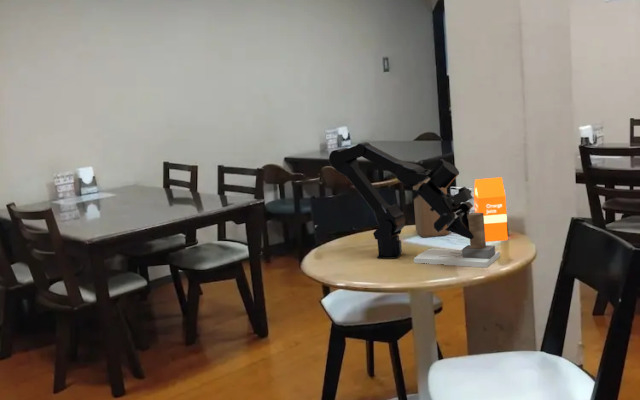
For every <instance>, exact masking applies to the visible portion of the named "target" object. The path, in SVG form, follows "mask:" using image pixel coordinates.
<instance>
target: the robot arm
mask: <svg viewBox="0 0 640 400" xmlns="http://www.w3.org/2000/svg"><path fill="white" fill-rule="evenodd" d="M361 157H362V158H364V159H365V160H368V161H369V162H370V163H373V164H375V165H376V166H379V167H380V168H382V169H384V170H386V171H388V172H389V173H391V174H392V175H394V176H395V178H396V180H397V181H398V182H400V183H401V184H403V186H405V187H407V188H413V186H416V185H418V184H421V183H422V184H421V186H420V187H419V188H418V189H414V190H413V189H412V199H413V200H414V199H416V198H418V197H419V196H420V197H421V198H422V199H423V200H424V201H425V202H426V203H427V204H428V205H430V207H431V209H430V210H431V211H432V212H433V211H435V212H436V213H437V214H438V215H439V216H440V217H439V218H438V219H437V221H436V222H435V223H434V228H435V230H436V231H437V232H438V233H439V232H440V231H442V230H443V227H444V226H445V225H446V224H447V226H448V227H447V228H446V229H445V230H446V231H449V233H453V234H455V235H458V236H461V237H464V238H466V239H469V240H470V239H473V237H474V236H473V235H472V233H471V232H470V231H469V220H468V214H470V213H471V210H472V209H473V207H474V204H472V203H471V202H470V200H472V199H473V196H472V190H470V189H469V187H468V188H467V187H466V186H463V187H460V188H458V191H457V193H455V194H454V195H452V194H451V193H448V192H447V194H445V193H444V192H443V191H442V190H441V189H440V188H442V187H443V188H447V189H448V187H449V186H450V185H451V184H452V183H453V181H454V180H455V179H456V178H457V177H458V176H459V175H460V171H459V169H458V168H457V167H456V166H455V165H454V164H452V163H451V162H448V161H446V160H445V159H443V158H442V159H439V160H438V161H437V162H436V164H435V166H434V167H433V168H432V169H425V167H423V166H421V165H420V164H416V163H412V162H409V161H404V160H400V159H399V158H397V157H395V156H393V155H391V154H389V153H387V152H385V151H383V150H381V149H379V148H378V147H376V146H374V145H372V144H371V143H370V142H367V141H364V142H361V143H357V144H356V145H354V146H351V147H343V148H339V149H335V150H332V151H331V152H330V153H329V156H328V163H329V165H330V166H331V167H332V168H333V169H334V170H335V171H336V172H337V173H339V174H341V175H343V176H344V177H346V178H347V179H348V181H350V183H351V184H352V186H353V187H354V188H355V189H356V191H357V192H358V193H359V195H360V196H361V197H362V198H363V199H364V201H365V202H366V204H367V205H368V206H369V207H370V208H371V210H372V211H373V213H374V216H375V220H376V223H377V225H378V227H376V229H375V230H374V232H373V233H372V234H373V237H374V239H375V240H377V241H376V242H377V250H378V254H377V256H376V258H377V259H398V258H399V256H401V255H402V253H403V249H402V240H401V239H400V236H399V235H400V234H401V232H402V229H404V227H405V225H406V218H405V216H404V215H405V212H403V211H401V209H400V208H399V206H398V205H397V204H392V205H391V204H388V202H387V201H385V199H384V197H382V195H381V194H380V193H379V191H378V190H377V189H376V187H375V186H374V185H373V184H372V182H371V181H370V180H369V179H368V178H367V176H366V175H365V174H364V173H363V171H362V170H361V169H360V166H359V161H358V159H359V158H361ZM429 178H430V180H429V181H428V182H427V183H423V182H424V180H427V179H429Z"/></svg>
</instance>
